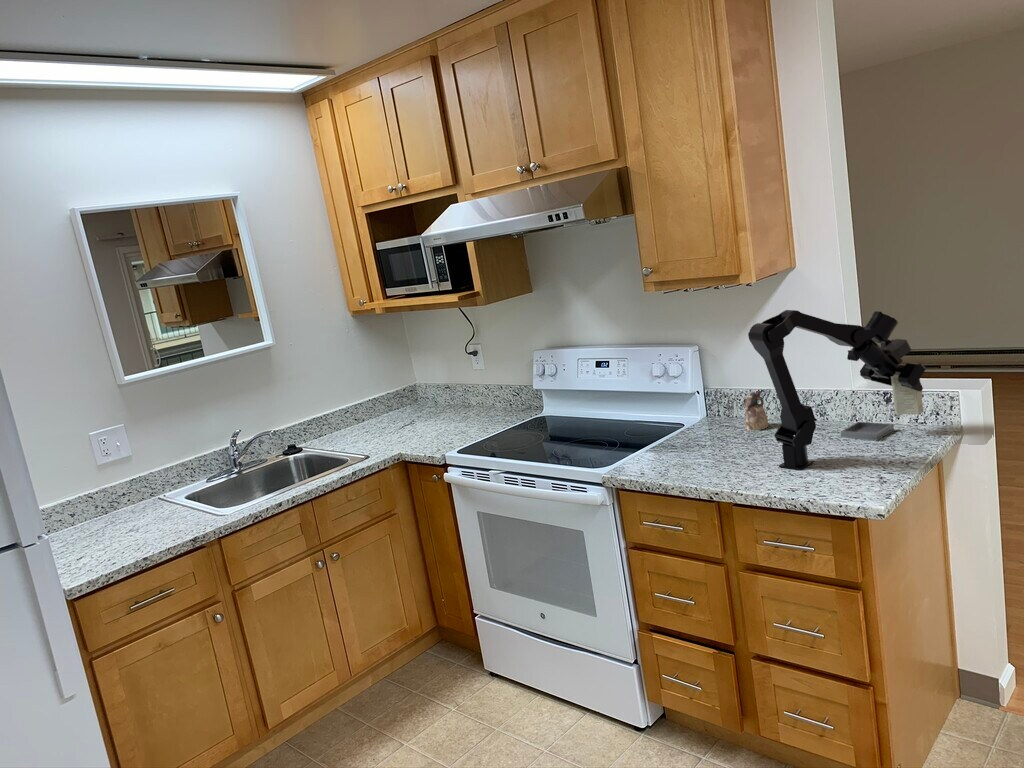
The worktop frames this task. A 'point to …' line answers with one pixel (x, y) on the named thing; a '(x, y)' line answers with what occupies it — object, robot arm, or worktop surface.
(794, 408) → the robot arm
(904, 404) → the skincare box
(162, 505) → the worktop surface
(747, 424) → the figurine
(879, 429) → the square gray open tray
